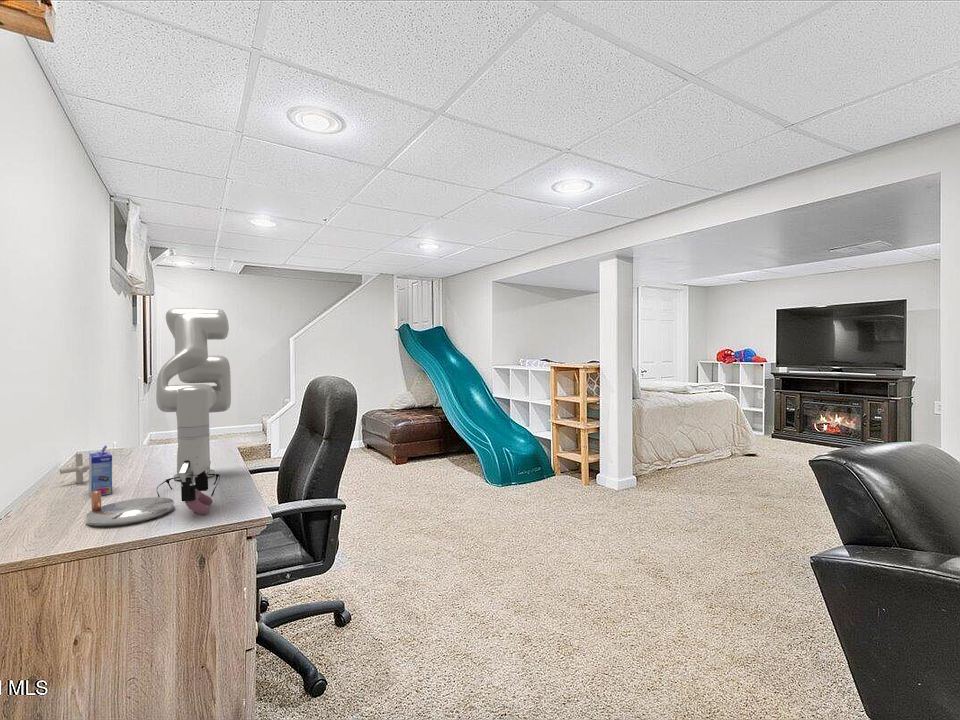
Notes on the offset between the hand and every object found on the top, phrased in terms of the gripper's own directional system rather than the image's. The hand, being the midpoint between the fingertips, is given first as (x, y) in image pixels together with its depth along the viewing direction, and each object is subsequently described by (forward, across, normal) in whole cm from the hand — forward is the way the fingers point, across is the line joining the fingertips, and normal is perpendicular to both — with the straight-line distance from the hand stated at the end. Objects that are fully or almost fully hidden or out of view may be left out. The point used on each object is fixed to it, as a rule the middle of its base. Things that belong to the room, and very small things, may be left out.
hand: (195, 495), depth 132 cm
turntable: (+4, -1, -16) cm, 17 cm away
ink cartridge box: (+5, -28, -37) cm, 47 cm away
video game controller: (+5, 0, +1) cm, 5 cm away
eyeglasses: (+5, -21, -9) cm, 23 cm away
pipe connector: (+5, -43, -51) cm, 67 cm away
